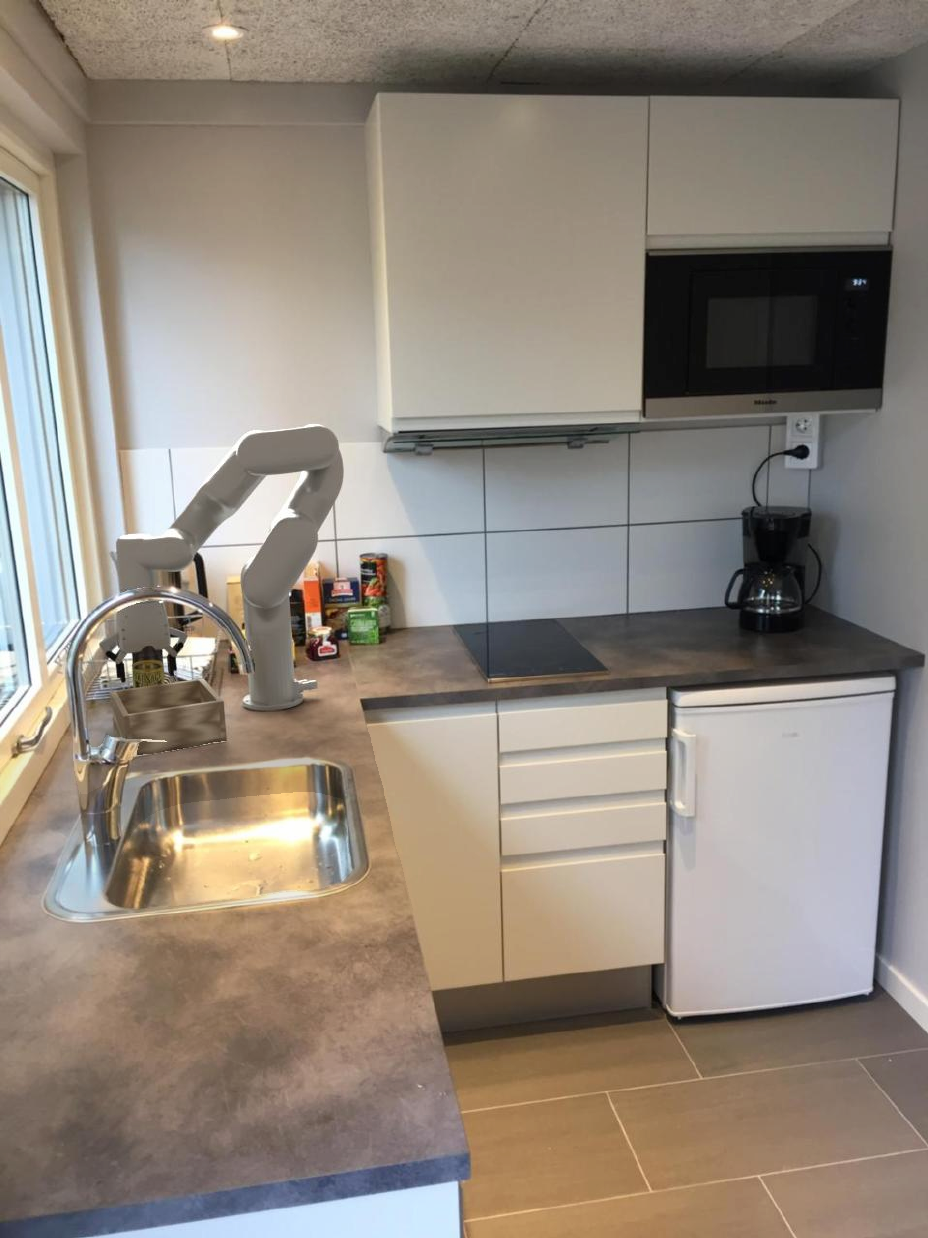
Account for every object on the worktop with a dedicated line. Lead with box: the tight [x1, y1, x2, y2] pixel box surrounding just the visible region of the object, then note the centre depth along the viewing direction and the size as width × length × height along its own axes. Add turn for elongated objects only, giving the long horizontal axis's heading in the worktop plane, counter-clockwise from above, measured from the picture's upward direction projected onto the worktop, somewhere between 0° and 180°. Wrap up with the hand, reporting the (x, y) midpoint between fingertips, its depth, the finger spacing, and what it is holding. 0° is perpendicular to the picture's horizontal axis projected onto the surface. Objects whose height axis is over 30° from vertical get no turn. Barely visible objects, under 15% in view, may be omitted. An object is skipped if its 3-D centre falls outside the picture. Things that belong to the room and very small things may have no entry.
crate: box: [109, 678, 228, 755], centre depth 193 cm, size 18×18×8 cm
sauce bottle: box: [131, 646, 166, 688], centre depth 206 cm, size 6×6×20 cm
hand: (147, 677), depth 207 cm, fingers open, 9 cm apart
